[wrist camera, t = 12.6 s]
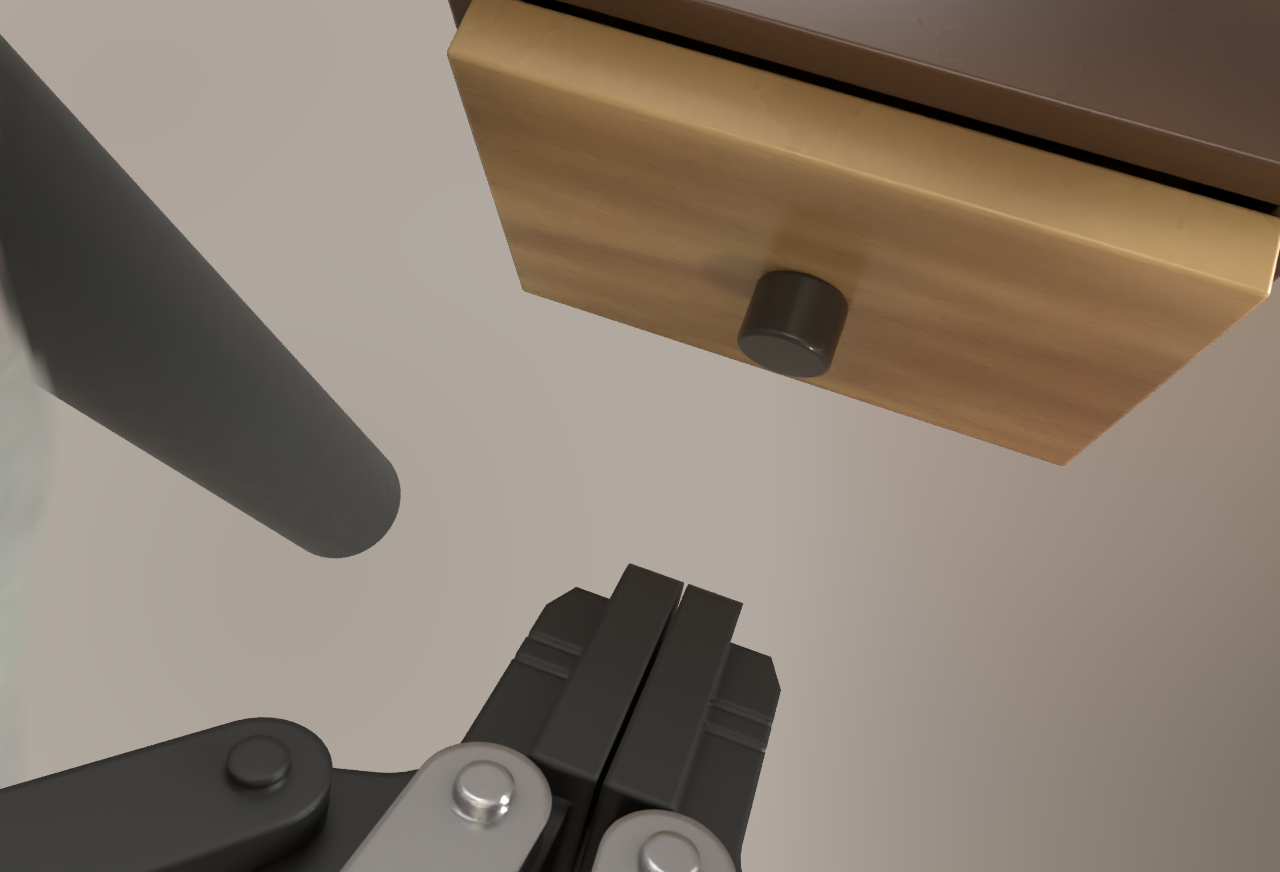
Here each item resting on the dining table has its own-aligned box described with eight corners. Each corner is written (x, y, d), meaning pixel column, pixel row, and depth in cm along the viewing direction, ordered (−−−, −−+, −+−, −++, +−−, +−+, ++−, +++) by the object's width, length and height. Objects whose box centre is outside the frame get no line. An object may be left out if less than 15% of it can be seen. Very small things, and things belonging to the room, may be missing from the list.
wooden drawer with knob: (1048, 525, 21) (1253, 382, 13) (499, 342, 22) (408, 122, 15) (1204, -68, 25) (1429, -433, 17) (730, -188, 26) (749, -570, 19)
